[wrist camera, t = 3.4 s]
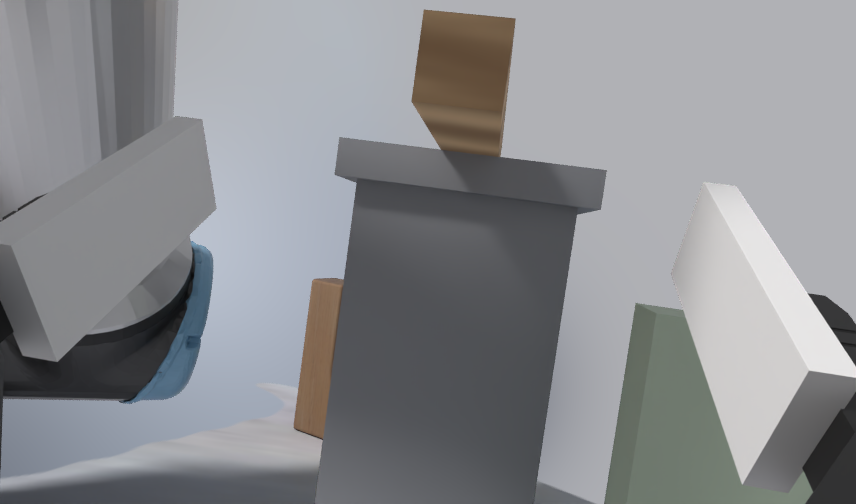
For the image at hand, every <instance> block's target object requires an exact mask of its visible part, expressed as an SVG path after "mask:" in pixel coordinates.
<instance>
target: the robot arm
mask: <svg viewBox="0 0 856 504" xmlns="http://www.w3.org/2000/svg"><path fill="white" fill-rule="evenodd" d="M177 15H178V0H0V468H1V437H2V407H3V399H43V400H44V399H45V400H46V399H47V400H111V401H114V400H115V401H119V402H121V403H127V404H132V403H133V402H134V403H135V402H137V401H140V400H164V399H168V398H172V397H174V396H176V395H177V394H179V393H180V392H181V391H182V390H183V389H184V388H185V386H186V385H187V383H188V382H189V380H190V377H191V375H192V373H193V370H194V367H195V364H196V361H197V357H198V353H199V349H200V343H201V339H200V338H201V336H202V334H203V330H204V327H205V324H206V320H207V314H208V309H209V303H210V296H211V289H212V279H213V258H212V254H211V252H210V251H209V250H208V249H207V248H206V247H204V246H202V245H197V244H196V243H194V242H193V241H190V236H189V235H190V234H191V233H192V232H193V231H194V230H195V229H196V228H197V227H198V226H199V225H200V224H201V223H202V222H203V221H204V220H205V219H206V218H207V217H208V216H209V215H211V213H212V212H214V211H215V210H216V203H215V197H214V190H213V184H212V178H211V171H210V165H209V159H208V154H207V147H206V140H205V134H204V128H203V121H202V119H194V118H187V117H179V116H175V117H174V118H173V110H174V85H175V63H176V39H177ZM671 275H672V278H673V281H674V284H675V287H676V290H677V293H678V296H679V299H680V302H681V305H682V308H683V311H684V314H685V317H686V320H687V323H688V326H689V329H690V332H691V335H692V338H693V341H694V344H695V347H696V350H697V353H698V356H699V359H700V362H701V364H702V367H703V370H704V373H705V376H706V379H707V382H708V385H709V388H710V391H711V394H712V397H713V400H714V403H715V406H716V409H717V412H718V415H719V418H720V421H721V424H722V427H723V430H724V433H725V436H726V439H727V442H728V444H729V447H730V450H731V453H732V456H733V459H734V462H735V465H736V468H737V471H738V474H739V477H740V480H741V483H742V485H745V486H751V487H756V488H762V489H768V490H773V491H779V492H784V493H789V491H790V490H791V488H792V487H793V485H794V484H795V482H796V481H797V479H798V478H799V476H800V475H801V473H802V472H803V471H804V473H805V475H806V478H807V480H808V482H809V484H810V486H811V489H812V491H813V493H812V494H811V496H810V497H809V499H808V500H807V501H806V503H805V504H856V324H855V323H854V321H853V320H852V318H851V317H850V316H849V315H848V313H847V312H845V311H844V310H843V309H842V308H840V307H839V306H838V305H836V304H835V303H834V302H832V301H831V300H830V299H829V298H827V297H826V296H822V295H815V294H808V293H807V292H806V291H805V289H804V288H803V286H802V285H801V283H800V282H799V280H798V279H797V277H796V275H795V274H794V272H793V271H792V270H791V269H790V266H789V265H788V264H787V262H786V261H785V259H784V258H783V256H782V255H781V253H780V252H779V250H778V248H777V247H776V245H775V244H774V242H773V241H772V239H771V238H770V236H769V235H768V233H767V232H766V231H765V229H764V227H763V226H762V224H761V223H760V221H759V220H758V218H757V217H756V215H755V214H754V212H753V211H752V209H751V208H750V206H749V205H748V203H747V202H746V200H745V199H744V197H743V196H742V194H741V193H740V191H739V190H738V188H737V187H736V186H733V185H724V184H717V183H708V182H703V185H702V188H701V191H700V193H699V196H698V199H697V202H696V205H695V207H694V210H693V213H692V216H691V219H690V221H689V224H688V227H687V230H686V233H685V235H684V238H683V241H682V244H681V246H680V249H679V252H678V255H677V258H676V260H675V263H674V266H673V269H672V272H671Z"/></svg>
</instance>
